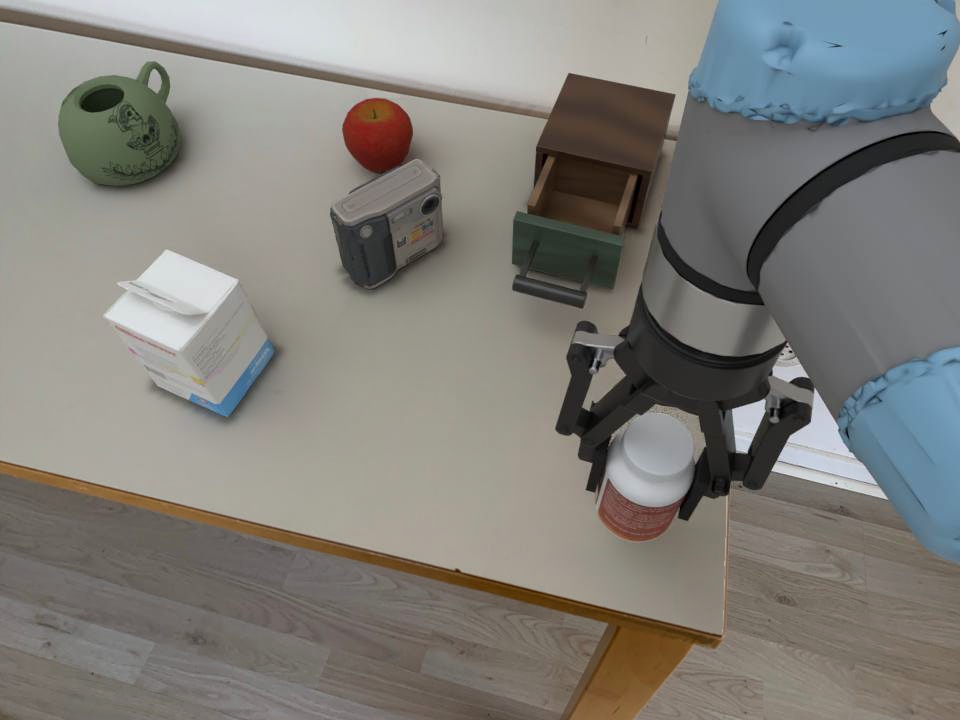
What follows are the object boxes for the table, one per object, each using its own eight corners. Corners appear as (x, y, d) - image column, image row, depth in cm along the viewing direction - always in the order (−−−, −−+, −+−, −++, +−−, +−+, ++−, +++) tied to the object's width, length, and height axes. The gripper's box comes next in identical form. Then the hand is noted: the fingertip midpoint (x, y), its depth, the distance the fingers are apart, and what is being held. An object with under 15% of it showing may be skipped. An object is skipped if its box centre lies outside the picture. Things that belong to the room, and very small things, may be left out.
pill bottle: (684, 536, 56) (722, 476, 47) (607, 552, 55) (629, 495, 46) (657, 463, 59) (687, 394, 50) (584, 478, 59) (600, 411, 50)
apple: (421, 178, 85) (415, 124, 79) (354, 190, 84) (342, 136, 78) (409, 134, 89) (402, 79, 83) (345, 145, 89) (333, 90, 82)
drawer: (597, 338, 72) (606, 295, 66) (492, 310, 74) (492, 266, 68) (637, 211, 81) (648, 164, 75) (542, 189, 83) (546, 142, 77)
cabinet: (637, 230, 80) (651, 171, 73) (532, 205, 83) (536, 145, 76) (660, 155, 87) (675, 94, 80) (562, 133, 89) (568, 72, 82)
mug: (140, 207, 83) (106, 148, 76) (53, 175, 87) (13, 115, 79) (223, 122, 91) (200, 61, 84) (141, 95, 94) (111, 33, 87)
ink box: (277, 352, 73) (237, 265, 61) (226, 420, 69) (174, 340, 57) (208, 322, 75) (156, 232, 63) (154, 386, 71) (89, 302, 59)
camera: (363, 297, 76) (347, 231, 68) (336, 263, 79) (317, 195, 70) (453, 247, 80) (449, 178, 71) (424, 216, 82) (416, 146, 74)
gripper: (930, 288, 35) (777, 483, 55) (548, 200, 39) (531, 412, 58) (928, 418, 31) (764, 578, 51) (505, 307, 35) (502, 495, 55)
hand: (639, 489), depth 55 cm, fingers closed on pill bottle, 6 cm apart
